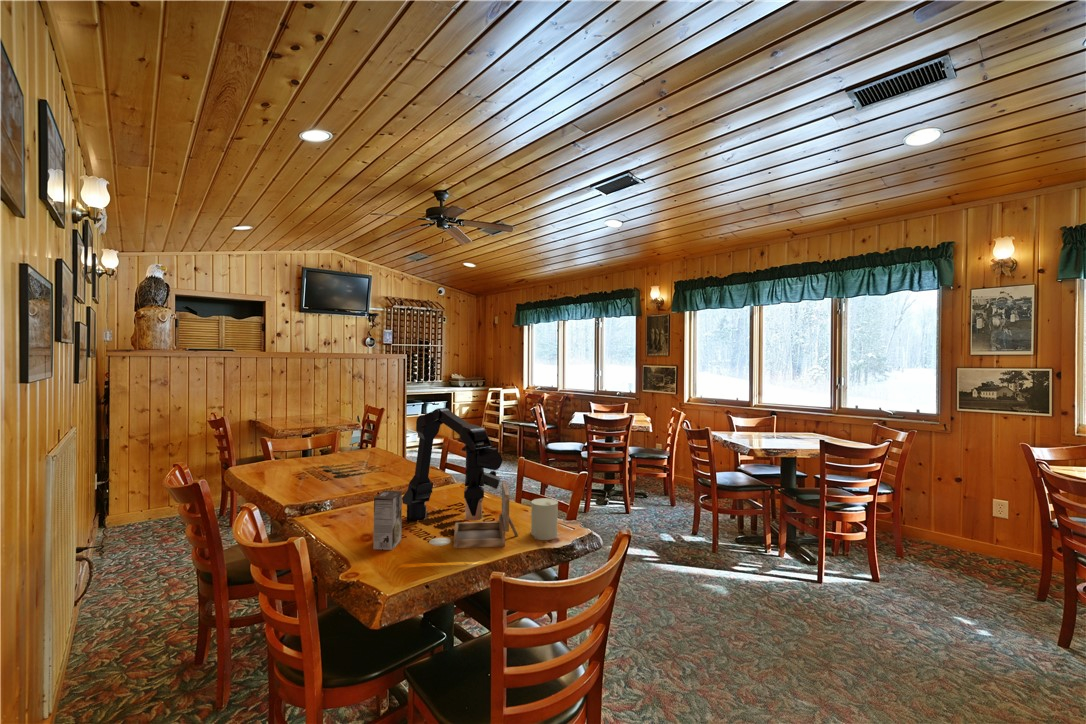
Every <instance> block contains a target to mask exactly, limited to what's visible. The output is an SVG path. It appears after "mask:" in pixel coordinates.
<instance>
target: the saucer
mask: <svg viewBox="0 0 1086 724" xmlns="http://www.w3.org/2000/svg"><path fill="white" fill-rule="evenodd" d="M451 542H452V540H451V539H450V538H447V537H435V538H432V539H430V540H429V541H428V543H429V545H432V546H439V547H440V546H441V547H442V546H446V545H449V544H450V543H451Z"/></svg>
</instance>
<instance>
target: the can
mask: <svg viewBox="0 0 1086 724" xmlns="http://www.w3.org/2000/svg"><path fill="white" fill-rule="evenodd" d="M558 507H559V501H558V499H557V500H556V499H554V498H548V497H545V498H544V497H543V498H542V497H541V498H534V499H532V500H531V514H530V515H531V518H530V519H531V521H530V523H531V524H530V525H531V526H530V527H531V528H530V534H531V536H533V538H534V540H538V541H539V540H540V541H550V540H551V541H552V540H556V538H558V536H559V535H558V516H559V515H558V513H559V512H558V511H559V510H558V509H559V508H558Z"/></svg>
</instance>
